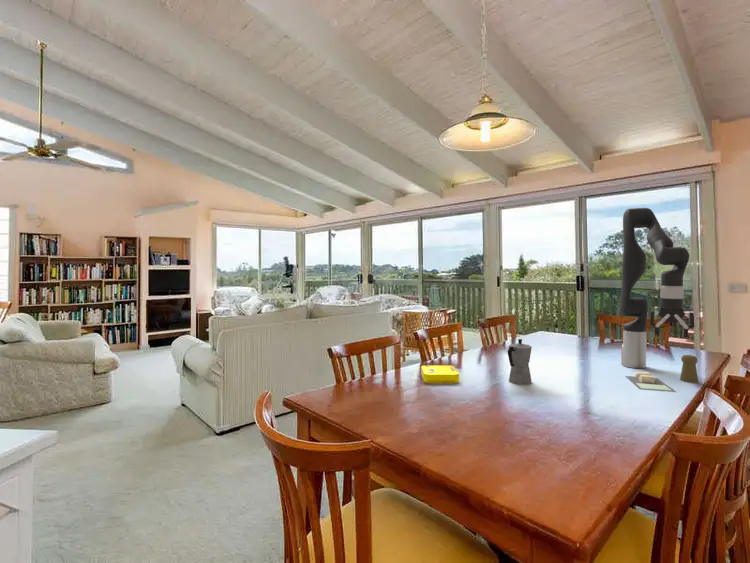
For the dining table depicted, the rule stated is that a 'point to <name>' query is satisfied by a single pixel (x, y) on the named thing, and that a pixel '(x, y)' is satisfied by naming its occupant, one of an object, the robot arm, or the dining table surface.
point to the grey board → (650, 385)
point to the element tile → (439, 374)
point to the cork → (689, 369)
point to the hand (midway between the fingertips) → (671, 337)
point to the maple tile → (645, 377)
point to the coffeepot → (519, 363)
